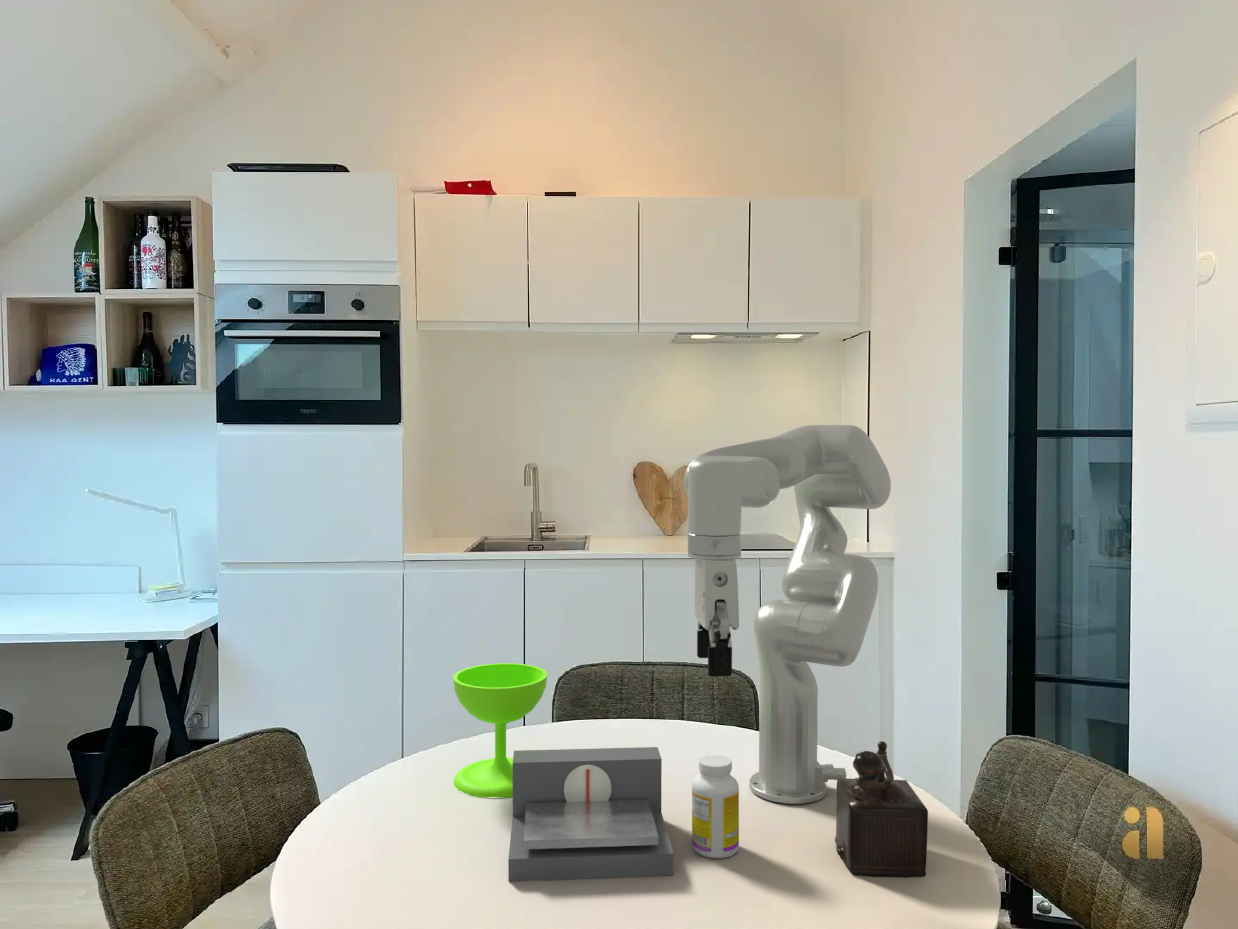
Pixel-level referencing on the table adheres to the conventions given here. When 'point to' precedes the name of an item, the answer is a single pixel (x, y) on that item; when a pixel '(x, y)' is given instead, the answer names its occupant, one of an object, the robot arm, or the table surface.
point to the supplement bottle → (715, 808)
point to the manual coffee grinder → (880, 821)
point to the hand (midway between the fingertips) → (713, 666)
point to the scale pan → (589, 824)
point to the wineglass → (496, 718)
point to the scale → (587, 780)
